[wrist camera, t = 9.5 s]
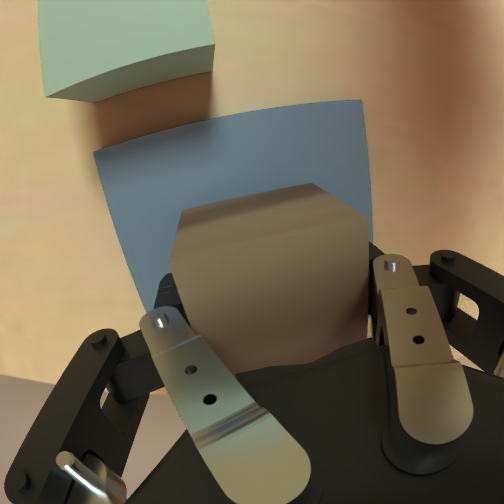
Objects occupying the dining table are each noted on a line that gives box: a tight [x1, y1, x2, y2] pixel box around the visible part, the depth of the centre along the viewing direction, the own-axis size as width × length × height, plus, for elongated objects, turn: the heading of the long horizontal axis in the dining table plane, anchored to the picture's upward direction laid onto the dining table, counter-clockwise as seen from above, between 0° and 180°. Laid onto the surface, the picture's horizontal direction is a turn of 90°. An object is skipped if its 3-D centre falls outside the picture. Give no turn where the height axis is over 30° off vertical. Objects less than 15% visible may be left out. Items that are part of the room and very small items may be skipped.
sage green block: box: [38, 0, 215, 103], centre depth 8 cm, size 6×6×5 cm
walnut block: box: [169, 183, 369, 378], centre depth 11 cm, size 6×6×5 cm
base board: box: [93, 100, 373, 318], centre depth 15 cm, size 12×12×1 cm
